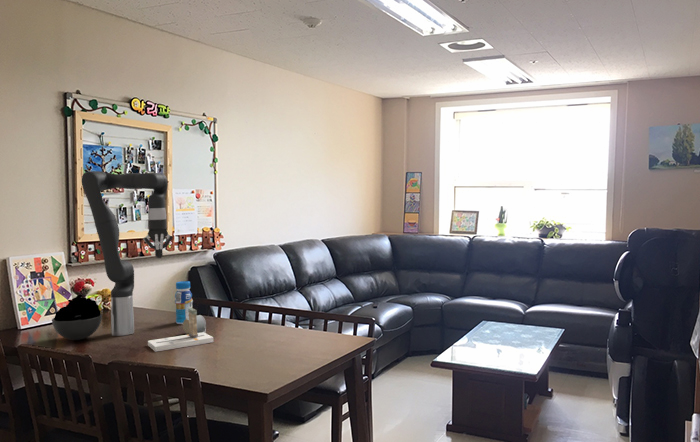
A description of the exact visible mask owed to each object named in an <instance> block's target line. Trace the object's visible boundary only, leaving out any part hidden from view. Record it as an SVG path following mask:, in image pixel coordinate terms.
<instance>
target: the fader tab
mask: <svg viewBox="0 0 700 442" xmlns="http://www.w3.org/2000/svg"><path fill="white" fill-rule="evenodd" d="M188 312H189V330H190V333H189V336H190V337H191V338H192V337H198V334H197V317H196V316H197V314H198V312H197V309H195V308H193V307H192V308H188Z"/></svg>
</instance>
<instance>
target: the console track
mask: <svg viewBox="0 0 700 442" xmlns="http://www.w3.org/2000/svg"><path fill="white" fill-rule="evenodd" d="M197 334H198V337H192V338H191V337H190V336H189V334H185V335H177V336H170V337H163V338H158V339H157V338H156V339H151V340H147V346H148V347H149V348H150V349H151V350H153V351H154V352H162V351H167V350H169V351H170V350H174V349H179V348H187V347H193V346H199V345H205V344H209V343H214V336H212V335H209V334H208V333H206V332H200V333H197Z"/></svg>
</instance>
